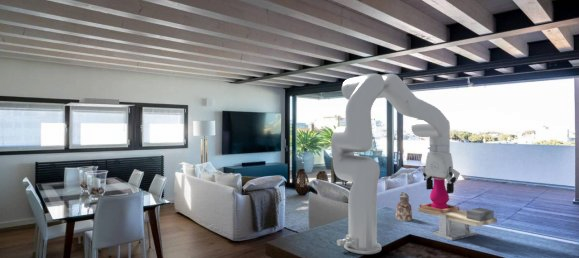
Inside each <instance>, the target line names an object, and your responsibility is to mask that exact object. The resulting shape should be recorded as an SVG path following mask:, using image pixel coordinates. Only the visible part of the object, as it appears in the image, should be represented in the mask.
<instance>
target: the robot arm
mask: <svg viewBox="0 0 579 258" xmlns="http://www.w3.org/2000/svg"><path fill="white" fill-rule="evenodd" d="M341 94H342V96H343V97H344V98H345V99H346V100H347V102H346V103H347V104H346V106H345V124H344V125H343V124H342V125H339V126H337V127H336V128H335V129H334V130H333V132H332V134H331V139H330V141H331V142H330V145H331V147H330V148H331V156H332V157H331V158H332V166H333V167H332V168H333V171H334V174H335V176H336V177H337V178H338V179H340V180H342V181H346V182H350V183H352V185H351V187H350V189H349V192H348V201H347V203H348V205H347V206H348V207H347V208H348V217H347V218H348V222H347V223H348V224H347V225H348V227H347V228H348V229H347V230H348V231H347V234H345V237H344V238H343V239H342V238H340V239H337V240H336V244H337V246H338V247H340V246H343V247H344V249H345V250H347V251H348V252H351V253H354V254H359V255H374V254H378V253H380V252H381V251H382V245H381V244H380V243H379V242H377V239H378V236H377V235H378V227H377V226H378V225H377V221H378V220H377V218H378V216H377V215H378V214H377V213H378V211H377V210H378V209H377V203H378V201H377V197H378V196H377V194H378V184H379V179H380V173H381V172H380V171H381V168H380V165H379V163H378V162H377V161H376V160H375V159H374V158H372V157H370V156H366V155H355V154H354V153H366V152H369V151H370V150H371V148H372V147H373V141H374V140H373V127H372V126H373V125H372V108H373V105H374V103H375V102H376V99H382V98H384V99H385V100H387V102H389V103H390V104H391V106H392V107H393V108H394V109H395V110H396V111H397V112H398V114H400V115H403V116H406V117H409V118H413V119H416V120H414V121H413V122H412V124H411V132H412V133H413V134H414V135H415V136H416V137H420V138H429V145H428V146H427V149H428V150H429V151H428V152H427V155H426V160H425V166H424V167H422V168H421V172H422V176H423V177H424V180H425V182H426V185H425V186H426V190H427V191H428V190H432V189H433V186H434V179H433V177H438V178H446V179H445V180H446V181H447V183H446V190H447V193H448V194H453V193H454V191H455V187H454V186H455V183H456V182H457V181H458V179H459V177H460V175H461V174H460V172H459V171H457V170H456V169H455V168H454V163H453V157H452V153H451V151H450V150H451V148H450V145H451V144H450V140H451V139H450V138H451V137H450V136H451V135H450V133H451V131H450V130H451V125H450V121H449V120H448V118H447V117H446V116H445V114H444V113H443V112H442V111H441V110H440V109H439V108H437V107H436V106H435V105H434V104H430V103H429V102H427V101H424V100H422V99H420V98H418V97H417V96H416V95H415V94H414V92H413V91H412V90H411V89H410V88H409V87H408V86H407V84H406V83H405V82H404V81H403V80H402V79H401V78H400V77H399V76H398V75H397V74H395V73H385V74H378V73H368V74H367V73H365V74H362V75H361V74H360V75H358V76H353V77H349V78H346V79H345V80H344V81H343V83H342V86H341Z"/></svg>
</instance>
